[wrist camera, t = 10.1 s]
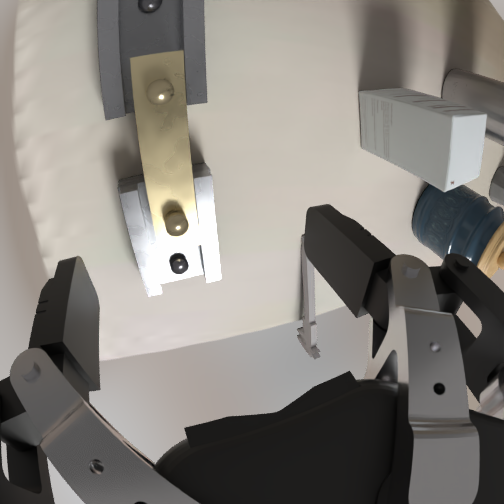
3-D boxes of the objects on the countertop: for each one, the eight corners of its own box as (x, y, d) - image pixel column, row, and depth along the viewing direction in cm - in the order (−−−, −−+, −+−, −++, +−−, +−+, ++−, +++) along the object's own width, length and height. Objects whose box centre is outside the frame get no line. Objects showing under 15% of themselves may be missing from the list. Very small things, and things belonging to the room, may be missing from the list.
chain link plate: (173, 56, 18) (186, 48, 13) (188, 214, 26) (203, 251, 21) (132, 62, 17) (129, 56, 12) (154, 222, 25) (161, 261, 20)
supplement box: (400, 140, 32) (479, 179, 23) (359, 149, 31) (444, 195, 21) (401, 86, 28) (489, 113, 18) (357, 88, 26) (454, 115, 17)
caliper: (301, 333, 48) (319, 361, 43) (296, 335, 48) (313, 364, 43) (307, 232, 36) (336, 261, 31) (299, 234, 35) (327, 264, 30)
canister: (417, 179, 38) (511, 242, 24) (459, 169, 40) (536, 218, 27) (403, 248, 46) (475, 314, 32) (445, 229, 48) (509, 281, 35)
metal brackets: (197, -15, 16) (206, -28, 13) (214, 259, 32) (223, 278, 30) (100, -3, 13) (95, -14, 11) (143, 275, 30) (146, 297, 27)
